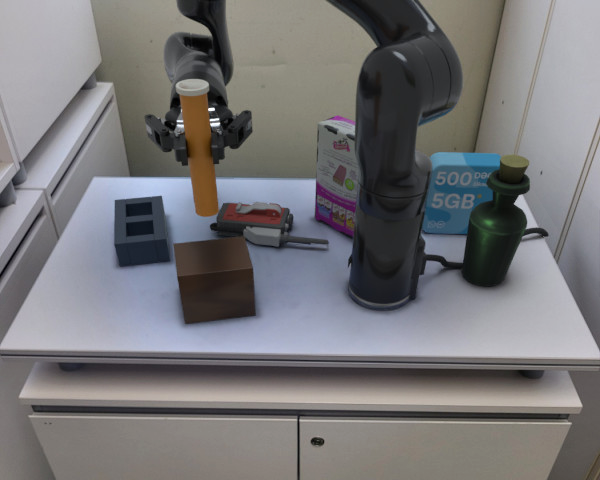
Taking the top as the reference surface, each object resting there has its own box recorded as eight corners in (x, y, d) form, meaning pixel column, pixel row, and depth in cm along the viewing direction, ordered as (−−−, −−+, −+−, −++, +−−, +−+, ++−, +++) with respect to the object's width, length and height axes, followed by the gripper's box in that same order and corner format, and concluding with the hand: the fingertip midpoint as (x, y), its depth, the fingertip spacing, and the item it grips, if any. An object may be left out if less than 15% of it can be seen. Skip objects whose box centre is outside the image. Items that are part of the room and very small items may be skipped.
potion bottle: (493, 257, 94) (526, 144, 81) (519, 286, 89) (558, 171, 76) (447, 264, 93) (472, 150, 80) (470, 294, 88) (502, 178, 74)
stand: (247, 282, 89) (244, 235, 83) (255, 315, 84) (253, 267, 78) (181, 290, 88) (173, 243, 82) (185, 324, 82) (176, 276, 76)
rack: (165, 217, 102) (161, 195, 99) (170, 261, 93) (166, 238, 90) (119, 221, 101) (114, 199, 98) (119, 266, 92) (114, 244, 89)
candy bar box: (380, 233, 99) (393, 134, 87) (360, 244, 97) (370, 144, 85) (333, 208, 104) (338, 112, 93) (313, 218, 102) (315, 121, 90)
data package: (420, 233, 99) (432, 164, 90) (417, 219, 102) (429, 151, 93) (491, 235, 99) (511, 165, 90) (486, 221, 102) (505, 153, 93)
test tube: (219, 203, 76) (207, 77, 66) (223, 216, 74) (210, 89, 63) (192, 205, 76) (174, 79, 65) (194, 219, 73) (176, 91, 63)
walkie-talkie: (206, 242, 97) (327, 253, 95) (203, 217, 93) (328, 229, 91) (219, 215, 103) (333, 225, 101) (217, 191, 99) (335, 201, 97)
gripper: (140, 72, 75) (130, 125, 64) (250, 68, 77) (259, 120, 65) (151, 131, 81) (143, 191, 69) (253, 127, 82) (262, 185, 70)
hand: (199, 156), depth 67 cm, fingers closed on test tube, 3 cm apart
